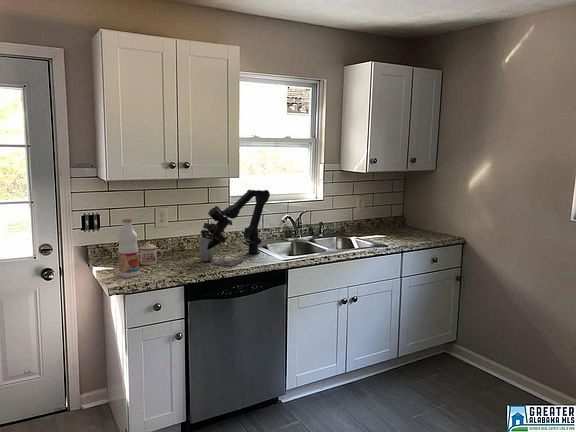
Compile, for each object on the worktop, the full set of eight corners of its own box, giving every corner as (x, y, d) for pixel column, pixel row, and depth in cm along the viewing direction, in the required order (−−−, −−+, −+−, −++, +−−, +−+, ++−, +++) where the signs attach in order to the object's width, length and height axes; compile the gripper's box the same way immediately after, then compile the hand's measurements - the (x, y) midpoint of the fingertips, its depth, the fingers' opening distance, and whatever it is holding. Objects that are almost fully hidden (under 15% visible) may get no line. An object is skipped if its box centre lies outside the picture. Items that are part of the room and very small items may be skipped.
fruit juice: (125, 272, 243) (123, 217, 239) (142, 273, 241) (140, 218, 237) (115, 277, 234) (113, 220, 229) (133, 278, 232) (131, 221, 228)
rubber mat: (223, 259, 272) (223, 254, 271) (243, 261, 267) (243, 256, 266) (211, 264, 260) (211, 258, 259) (232, 267, 255) (232, 261, 254)
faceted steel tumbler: (204, 257, 272) (203, 236, 270) (215, 258, 269) (214, 237, 267) (197, 260, 265) (196, 239, 263) (208, 261, 262) (208, 240, 261)
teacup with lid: (140, 265, 256) (139, 244, 254) (139, 262, 264) (138, 241, 262) (163, 264, 260) (162, 243, 258) (161, 260, 268) (161, 240, 266)
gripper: (202, 215, 273) (186, 236, 268) (220, 219, 259) (203, 242, 254) (215, 227, 279) (198, 248, 274) (233, 232, 265) (216, 254, 260)
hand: (203, 248), depth 265 cm, fingers closed on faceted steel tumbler, 7 cm apart
